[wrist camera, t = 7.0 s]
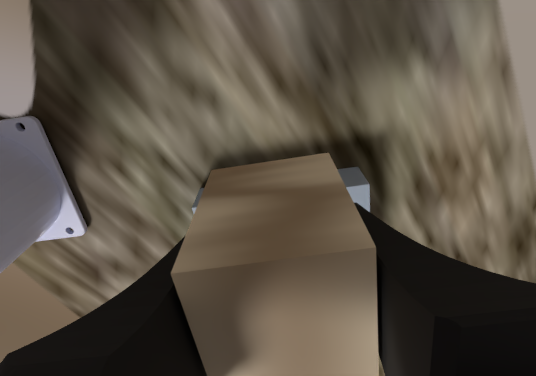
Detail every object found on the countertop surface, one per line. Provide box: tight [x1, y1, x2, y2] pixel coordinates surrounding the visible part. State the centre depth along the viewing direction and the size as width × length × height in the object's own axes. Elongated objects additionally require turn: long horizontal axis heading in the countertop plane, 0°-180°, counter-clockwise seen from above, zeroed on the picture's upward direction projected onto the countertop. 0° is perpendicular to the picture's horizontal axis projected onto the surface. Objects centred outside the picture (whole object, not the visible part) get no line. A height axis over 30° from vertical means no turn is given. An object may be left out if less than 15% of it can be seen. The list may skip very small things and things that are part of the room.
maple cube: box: [171, 153, 379, 376], centre depth 11 cm, size 4×4×6 cm
